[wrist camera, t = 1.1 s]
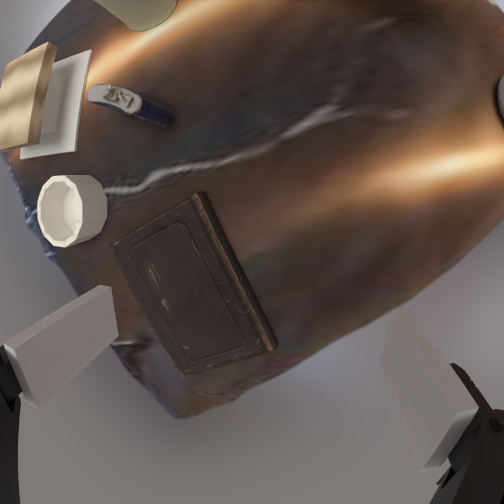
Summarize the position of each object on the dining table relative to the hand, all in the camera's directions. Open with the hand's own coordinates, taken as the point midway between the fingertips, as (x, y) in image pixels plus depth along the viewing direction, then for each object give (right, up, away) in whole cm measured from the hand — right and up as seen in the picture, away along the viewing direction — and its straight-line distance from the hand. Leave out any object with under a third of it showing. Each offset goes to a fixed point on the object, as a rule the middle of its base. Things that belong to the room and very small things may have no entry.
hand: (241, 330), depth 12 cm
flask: (-14, +23, +23) cm, 35 cm away
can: (-16, +42, +19) cm, 48 cm away
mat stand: (-34, +29, +24) cm, 51 cm away
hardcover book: (-8, -2, +28) cm, 29 cm away
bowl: (-26, +10, +27) cm, 39 cm away
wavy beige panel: (-35, +27, +18) cm, 48 cm away
